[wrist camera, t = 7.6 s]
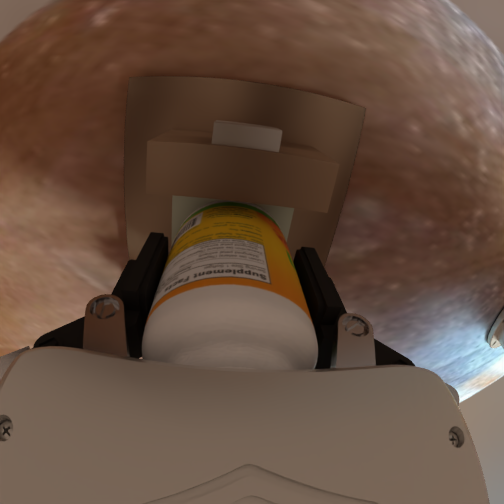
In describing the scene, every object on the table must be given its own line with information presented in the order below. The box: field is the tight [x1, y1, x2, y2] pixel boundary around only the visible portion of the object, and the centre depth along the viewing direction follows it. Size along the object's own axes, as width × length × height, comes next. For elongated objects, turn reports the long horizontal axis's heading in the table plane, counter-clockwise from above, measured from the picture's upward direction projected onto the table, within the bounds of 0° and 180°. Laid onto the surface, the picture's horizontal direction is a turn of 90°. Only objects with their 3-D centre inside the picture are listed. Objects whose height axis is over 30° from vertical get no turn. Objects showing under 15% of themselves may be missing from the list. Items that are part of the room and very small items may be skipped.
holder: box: [124, 76, 366, 266], centre depth 14 cm, size 12×16×5 cm
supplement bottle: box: [142, 200, 318, 370], centre depth 9 cm, size 5×5×10 cm
